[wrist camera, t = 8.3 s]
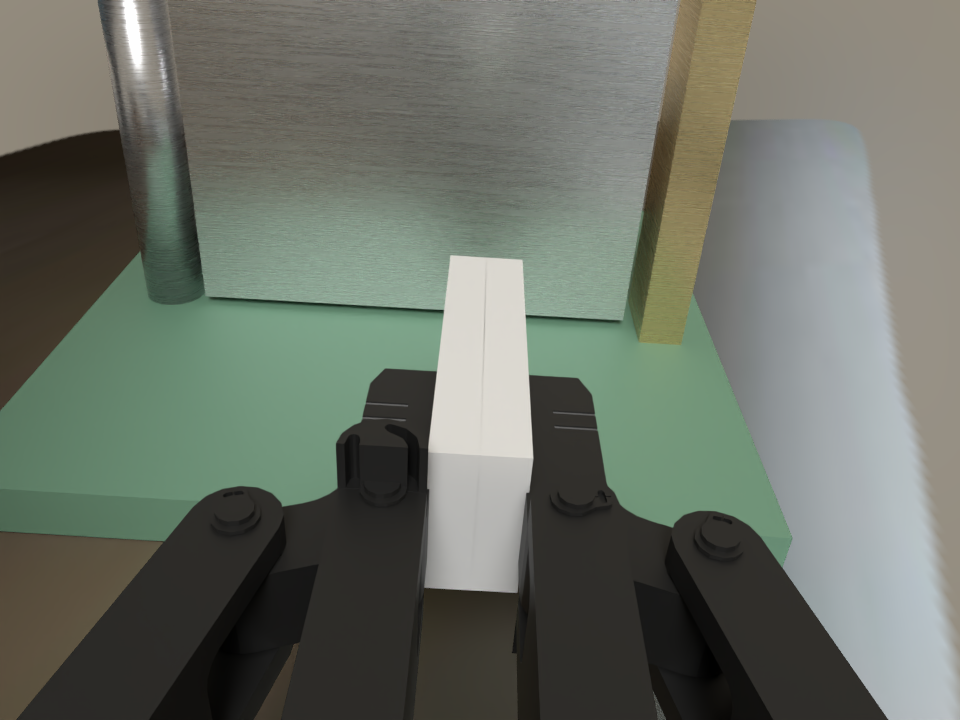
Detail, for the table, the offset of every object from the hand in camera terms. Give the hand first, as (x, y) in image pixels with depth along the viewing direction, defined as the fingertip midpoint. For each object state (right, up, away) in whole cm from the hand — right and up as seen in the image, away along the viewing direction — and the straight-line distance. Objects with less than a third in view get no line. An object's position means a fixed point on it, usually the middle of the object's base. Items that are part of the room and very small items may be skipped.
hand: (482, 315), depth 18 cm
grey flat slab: (-2, +1, +13) cm, 13 cm away
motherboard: (-3, 0, +14) cm, 14 cm away
